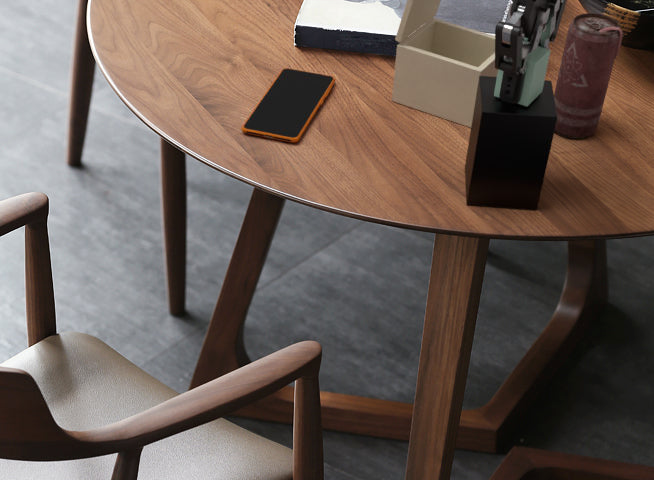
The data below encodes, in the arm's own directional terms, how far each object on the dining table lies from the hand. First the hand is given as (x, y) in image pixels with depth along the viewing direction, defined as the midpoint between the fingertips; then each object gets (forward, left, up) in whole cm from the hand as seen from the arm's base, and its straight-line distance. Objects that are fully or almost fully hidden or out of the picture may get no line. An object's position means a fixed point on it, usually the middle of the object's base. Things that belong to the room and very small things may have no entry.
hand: (518, 91), depth 117 cm
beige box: (+15, -15, -12) cm, 24 cm away
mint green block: (0, 0, 0) cm, 0 cm away
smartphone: (+30, -1, -13) cm, 32 cm away
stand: (0, 0, -12) cm, 12 cm away
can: (-2, -18, -13) cm, 22 cm away
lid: (+19, -15, +2) cm, 24 cm away
